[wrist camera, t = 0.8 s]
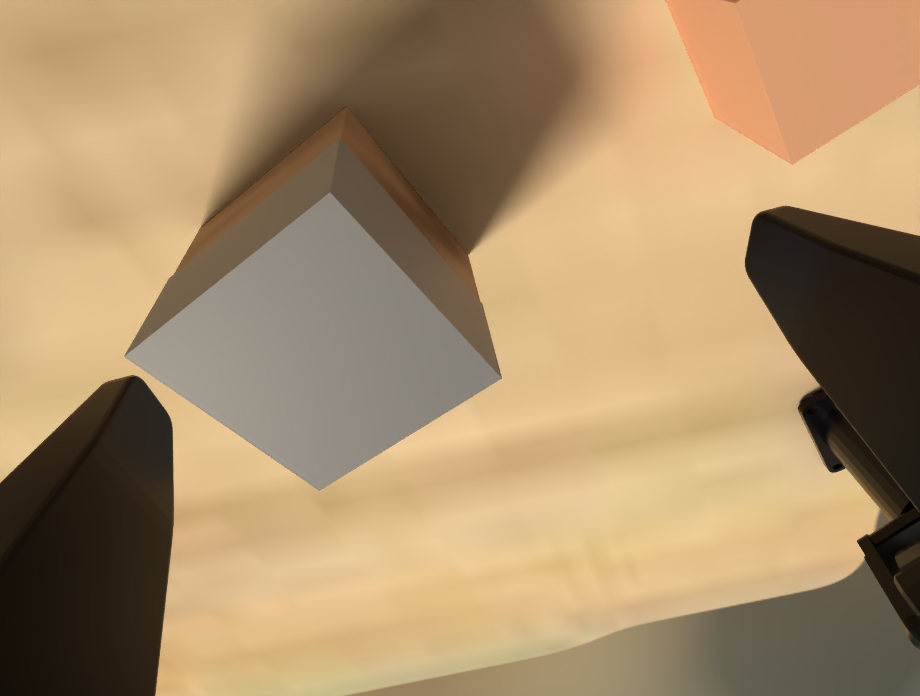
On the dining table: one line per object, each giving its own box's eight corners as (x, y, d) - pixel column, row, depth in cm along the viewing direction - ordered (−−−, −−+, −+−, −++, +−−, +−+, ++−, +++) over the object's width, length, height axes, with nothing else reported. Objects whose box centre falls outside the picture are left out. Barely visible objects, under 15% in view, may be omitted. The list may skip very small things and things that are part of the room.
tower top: (482, 303, 20) (501, 378, 17) (328, 406, 22) (319, 490, 19) (339, 137, 16) (329, 192, 13) (169, 278, 18) (124, 356, 15)
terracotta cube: (852, 22, 20) (973, 50, 16) (713, 117, 21) (792, 164, 17) (813, -136, 17) (947, -151, 13) (657, -16, 18) (735, 3, 14)
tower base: (467, 253, 23) (481, 307, 20) (334, 345, 25) (327, 408, 22) (347, 104, 19) (340, 141, 16) (201, 226, 21) (169, 281, 18)
